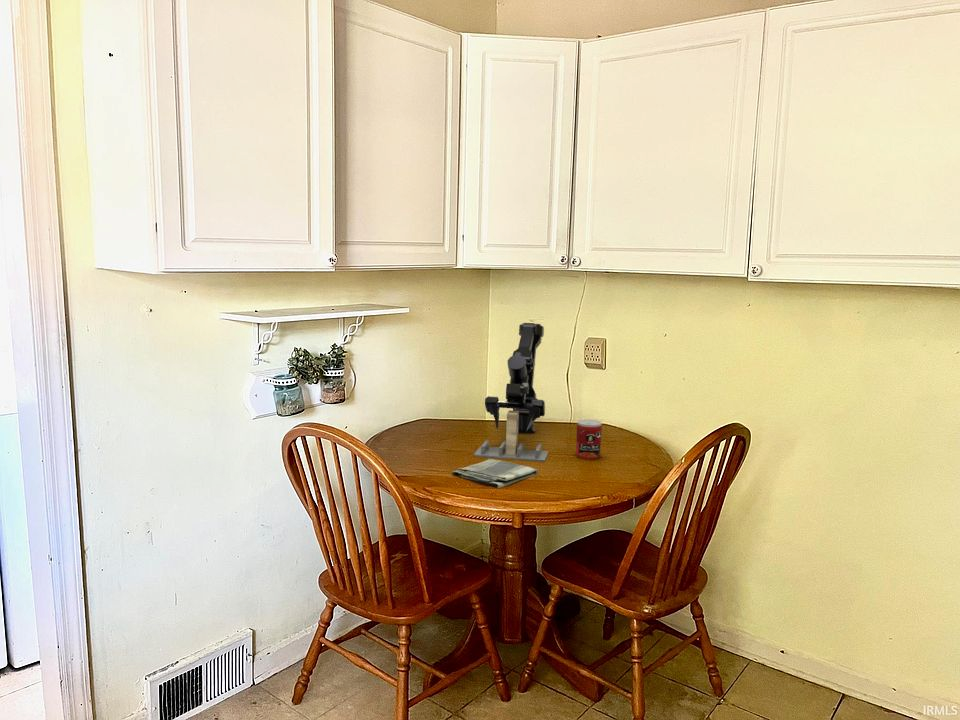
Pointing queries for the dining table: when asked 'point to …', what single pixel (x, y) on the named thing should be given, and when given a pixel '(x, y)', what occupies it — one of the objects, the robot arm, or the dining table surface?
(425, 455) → the dining table surface
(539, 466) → the dining table surface
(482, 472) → the dish towel
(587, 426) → the canned food
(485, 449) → the slotted rack
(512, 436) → the birch block
